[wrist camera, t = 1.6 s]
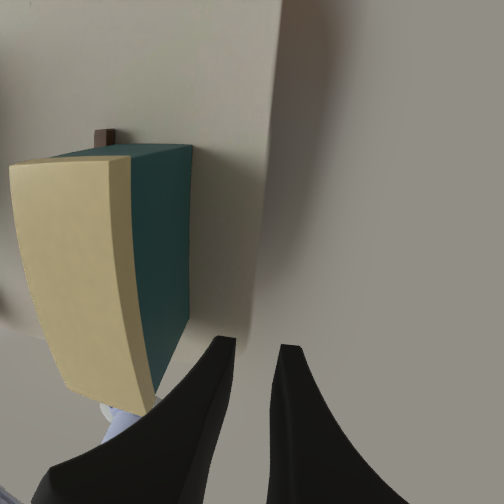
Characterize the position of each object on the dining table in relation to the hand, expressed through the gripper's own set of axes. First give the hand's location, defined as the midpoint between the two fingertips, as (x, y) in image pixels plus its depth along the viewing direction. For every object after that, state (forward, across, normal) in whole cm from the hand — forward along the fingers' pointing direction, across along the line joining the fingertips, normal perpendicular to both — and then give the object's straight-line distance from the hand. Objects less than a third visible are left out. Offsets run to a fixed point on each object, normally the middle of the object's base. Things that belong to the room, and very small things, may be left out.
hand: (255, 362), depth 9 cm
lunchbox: (+9, +8, 0) cm, 12 cm away
